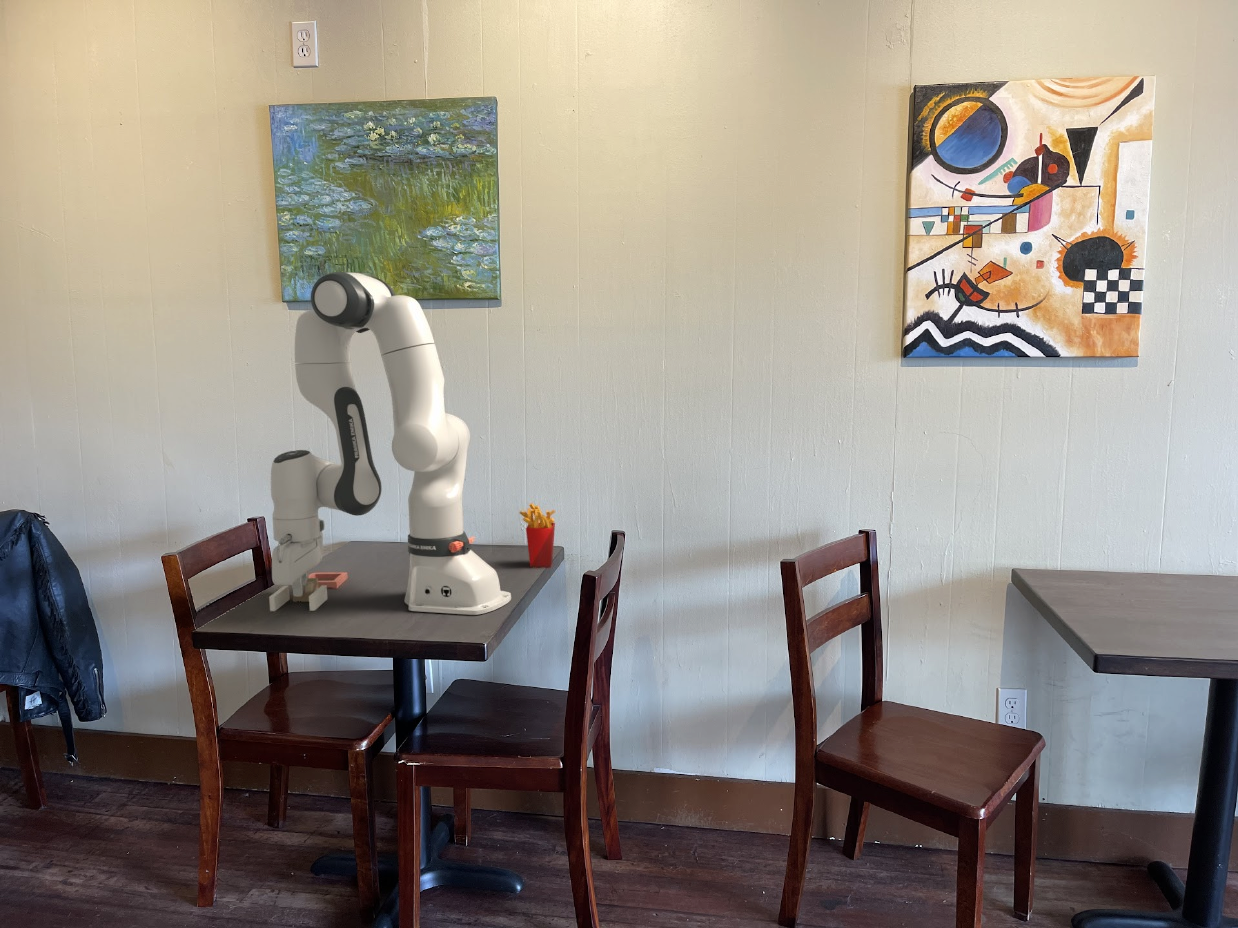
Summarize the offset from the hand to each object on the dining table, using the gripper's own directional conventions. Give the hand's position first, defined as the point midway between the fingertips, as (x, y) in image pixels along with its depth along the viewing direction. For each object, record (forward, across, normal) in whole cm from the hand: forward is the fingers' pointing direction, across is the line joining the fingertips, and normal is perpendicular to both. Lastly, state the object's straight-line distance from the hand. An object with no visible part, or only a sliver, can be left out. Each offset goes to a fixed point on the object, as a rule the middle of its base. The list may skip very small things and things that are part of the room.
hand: (300, 594), depth 178 cm
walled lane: (+2, -1, 0) cm, 2 cm away
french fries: (+2, +28, -47) cm, 55 cm away
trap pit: (+2, +15, 0) cm, 15 cm away
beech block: (+2, +4, 0) cm, 4 cm away
